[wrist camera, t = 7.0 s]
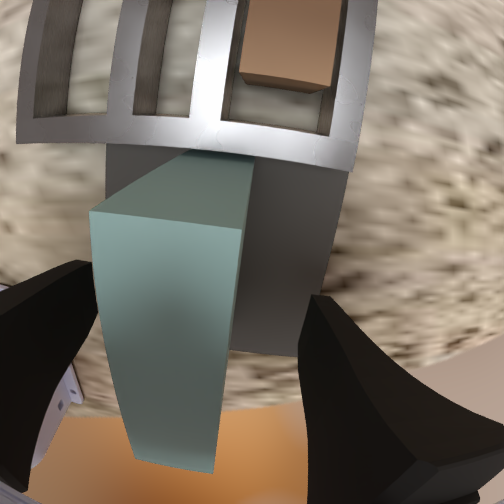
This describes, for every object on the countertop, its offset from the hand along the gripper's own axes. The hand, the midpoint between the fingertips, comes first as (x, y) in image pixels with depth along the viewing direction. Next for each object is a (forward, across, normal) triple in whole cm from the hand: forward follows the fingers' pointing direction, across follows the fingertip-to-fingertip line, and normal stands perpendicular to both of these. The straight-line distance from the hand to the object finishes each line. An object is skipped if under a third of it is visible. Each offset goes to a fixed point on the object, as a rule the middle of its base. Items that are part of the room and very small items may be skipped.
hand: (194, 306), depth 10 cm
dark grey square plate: (+5, 0, 0) cm, 5 cm away
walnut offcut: (+5, -2, -10) cm, 11 cm away
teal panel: (+4, 0, 0) cm, 4 cm away
